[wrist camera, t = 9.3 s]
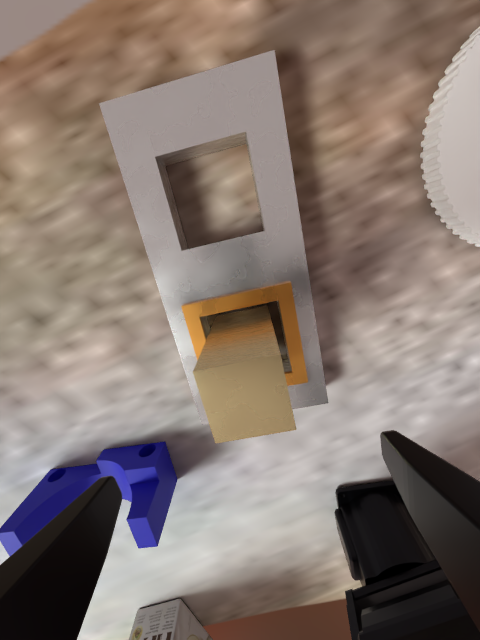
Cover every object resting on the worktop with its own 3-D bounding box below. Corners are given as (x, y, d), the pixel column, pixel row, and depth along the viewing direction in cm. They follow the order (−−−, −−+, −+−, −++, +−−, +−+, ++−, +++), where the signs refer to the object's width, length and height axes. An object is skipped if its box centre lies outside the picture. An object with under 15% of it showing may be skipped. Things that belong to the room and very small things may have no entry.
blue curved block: (165, 439, 24) (140, 501, 19) (177, 477, 26) (157, 546, 20) (46, 455, 25) (-14, 519, 20) (63, 491, 27) (12, 560, 21)
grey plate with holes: (271, 72, 16) (275, 45, 14) (321, 388, 22) (329, 405, 20) (116, 118, 17) (96, 100, 15) (205, 409, 23) (201, 427, 21)
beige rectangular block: (267, 305, 20) (280, 354, 11) (277, 352, 21) (296, 429, 13) (216, 316, 20) (192, 372, 12) (228, 361, 22) (215, 443, 13)
